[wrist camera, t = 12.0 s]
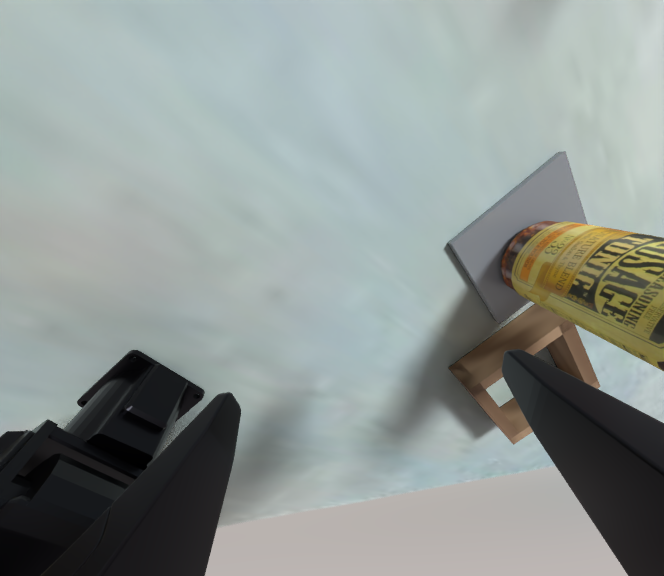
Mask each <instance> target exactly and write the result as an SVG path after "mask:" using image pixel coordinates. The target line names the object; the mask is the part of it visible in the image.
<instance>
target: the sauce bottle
mask: <svg viewBox="0 0 664 576" xmlns="http://www.w3.org/2000/svg"><path fill="white" fill-rule="evenodd" d="M500 267H501V270H502V276H503V280H504V282H505V283H506V285H507V286H509V287H510V288H511V289H513V290H515V291H516V292H517V293H518V294H519V295H521V296H522V297H524V298H526V299H528V300H530V301H532V302H534V303H535V304H537V305H539V306H541V307H543V308H545V309H547V310H549V311H551V312H553V313H555V314H557V315H559V316H560V317H562V318H564V319H566V320H568V321H570V322H572V323H574V324H576V325H578V326H580V327H581V328H583V329H585V330H587V331H589V332H591V333H593V334H595V335H597V336H598V337H600V338H602V339H604V340H606V341H608V342H610V343H612V344H614V345H616V346H617V347H619V348H621V349H623V350H625V351H627V352H629V353H630V354H632V355H634V356H636V357H638V358H640V359H642V360H644V361H646V362H647V363H649V364H651V365H653V366H655V367H657V368H659V369H660V370H662V371H664V238H662V237H656V236H651V235H645V234H638V233H633V232H627V231H622V230H616V229H611V228H605V227H599V226H593V225H587V224H581V223H575V222H554V221H543V222H539V223H536V224H533V225H531V226H529V227H527V228H525V229H523V230H522V231H521V233H519V234H517V235H516V237H515V238H514V239H513V240H512V242H511V243H510V245H509V246H508V248H507V250H506V253H505V254H504V255H503V257H502V260H501V266H500Z"/></svg>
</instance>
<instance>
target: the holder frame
mask: <svg viewBox="0 0 664 576" xmlns="http://www.w3.org/2000/svg"><path fill="white" fill-rule="evenodd" d="M546 346H547V348H548V350H549V352H550V354H551V356H552V358H553V360H554V362H555V364H556V365H557V367H558V369H560V370H562V371H564V372H566V373H568V374H570V375H572V376H574V377H576V378H578V379H579V380H581V381H583V382H585V383H587V384H589V385H591V386H593V387H595V388H597V389H598V388H599V387H600V384H599V382H598V380H597V377H596V375H595V372H594V370H593V368H592V365H591V363H590V360H589V358H588V356H587V353H586V351H585V348H584V346H583V344H582V341H581V339H580V336H579V334H578V332H577V329H576V327H575V324H574V323H572V322H570V321H568V320H566V319H564V318H562V317H560V316H559V315H557V314H555V313H553V312H551V311H549V310H547V309H545V308H543V307H541V306H539V305H537V304H534V305H533V306H532V307H530V308H529V309H527V310H526V311H525V312H523V313H522V314H521V315H519V316H518V317H517V318H515V319H514V320H513V321H511V322H510V323H509V324H507V325H506V326H505V327H503V328H502V329H500V330H499V331H498V332H496V333H495V334H494V335H492V336H491V337H490V338H488V339H487V340H486V341H484V342H483V343H482V344H480V345H479V346H478V347H476V348H475V349H474V350H472V351H471V352H469V353H468V354H467V355H465V356H464V357H463V358H461V359H460V360H459V361H457V362H456V363H455V364H453V365H452V366H451V367H449V369H450V370H451V372H452V373H453V374H454V375H455V376H456V378H457V379H458V380H459V381H460V382H461V384H462V385H463V386H464V387H465V388H466V390H467V391H468V392H469V393H470V394H471V395H472V397H473V398H474V399H475V400H476V401H477V403H478V404H479V405H480V406H481V407H482V409H483V410H484V411H485V412H486V413H487V415H488V416H489V417H490V418H491V419H492V421H493V422H494V423H495V424H496V425H497V426H498V427H499V429H500V430H501V431H502V432H503V433H504V434H505V435H506V437H507V438H508V439H509V440H510V441H511V442H512V443H513V445H514V444H515V443H517V442H518V441H520V440H521V439H523V438H524V437H526V436H527V435H529V434H530V433H532V432H533V430H532V429H531V427H530V426H529V424H528V422H527V420H526V418H525V417H524V415H523V413H522V411H521V409H520V407H519V405H518V403H517V401H516V400H515V398H513V399H512V400H510V401H509V402H507V403H506V404H504V405H503V406H501V407H500V408H499V407H498V405H497V404H496V403H495V402H494V400H493V399H492V398H491V396H490V395H489V394H488V393H487V391H486V390H485V389H487V388H488V387H489V386H491V385H492V384H494V383H495V382H496V381H498V380H499V379H501V378H502V377H503V374H502V363H503V357H504V353H505V351H507V350H514V349H521V350H524V351H526V352H528V353H530V354H531V355H534V354H536V353H537V352H539V351H540V350H541V349H543V348H544V347H546Z"/></svg>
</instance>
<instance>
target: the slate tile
mask: <svg viewBox="0 0 664 576" xmlns="http://www.w3.org/2000/svg"><path fill="white" fill-rule="evenodd" d="M543 221H554V222H575V223H581V224H587V221H586V217H585V214H584V211H583V207H582V204H581V201H580V198H579V194H578V191H577V188H576V184H575V181H574V178H573V175H572V171H571V168H570V165H569V161H568V158H567V155H566V152H565V151H564V152H558V153H557V154H556V155H554V156H553V157H552V158H551V159H550V160H548V161H547V162H546V163H545V164H543V165H542V166H541V167H540V168H539V169H537V170H536V171H535V172H534V173H532V174H531V175H530V176H529V177H528V178H526V179H525V180H524V181H523V182H521V183H520V184H519V185H518V186H517V187H515V188H514V189H513V190H512V191H511V192H509V193H508V194H507V195H506V196H504V197H503V198H502V199H501V200H500V201H498V202H497V203H496V204H495V205H493V206H492V207H491V208H490V209H489V210H487V211H486V212H485V213H484V214H482V215H481V216H480V217H479V218H478V219H476V220H475V221H474V222H473V223H471V224H470V225H469V226H468V227H467V228H465V229H464V230H463V231H462V232H461V233H459V234H458V235H457V236H456V237H454V238H453V239H452V240H451V241H450V242H448V244H449V246H450V247H451V249H452V250H453V252H454V254H455V255H456V257H457V259H458V260H459V262H460V263H461V265H462V267H463V268H464V270H465V272H466V273H467V275H468V276H469V278H470V280H471V281H472V283H473V285H474V286H475V288H476V290H477V291H478V293H479V294H480V296H481V298H482V299H483V301H484V303H485V304H486V306H487V307H488V309H489V311H490V312H491V314H492V316H493V317H494V319H495V320H496V321H497V322H498V323H501V322H503V321H504V320H505V319H507V318H508V317H509V316H511V315H512V314H514V313H515V312H516V311H518V310H519V309H520V308H522V307H523V306H524V305H526V304H527V303H528V302H530V300H528V299H526V298H524V297H522V296H521V295H519V294H518V293H517V292H516V291H515V290H513V289H511V288H510V287H509V286H507V285H506V283H505V282H504V280H503V276H502V270H501V267H500V266H501V260H502V257H503V255H504V254H505V253H506V250H507V248H508V246H509V245H510V243H511V242H512V240H513V239H514V238H515V237H516V235H517V234H519V233H521V231H522V230H523V229H525V228H527V227H529V226H531V225H533V224H536V223H539V222H543ZM587 225H588V224H587Z"/></svg>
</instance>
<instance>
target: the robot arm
mask: <svg viewBox="0 0 664 576" xmlns="http://www.w3.org/2000/svg"><path fill="white" fill-rule="evenodd" d="M132 356H134V357H136V358H133V357H132ZM502 374H503V377H504V379H505V381H506V383H507V384H508V386H509V388H510V390H511V392H512V394H513V396H514V398H515V400H516V401H517V403H518V405H519V407H520V409H521V411H522V413H523V415H524V417H525V418H526V420H527V422H528V424H529V426H530V427H531V429H532V430H533V432H534V434H535V435H536V437H537V438H538V440H539V441H540V443H541V444H542V446H543V447H544V449H545V450H546V452H547V453H548V455H549V456H550V458H551V459H552V461H553V462H554V464H555V465H556V467H557V468H558V470H559V471H560V473H561V474H562V476H563V477H564V479H565V480H566V482H567V483H568V485H569V487H570V488H571V490H572V491H573V492H574V494H575V496H576V497H577V499H578V500H579V502H580V503H581V504H582V506H583V508H584V509H585V511H586V512H587V514H588V515H589V517H590V518H591V520H592V521H593V523H594V524H595V526H596V527H597V529H598V530H599V532H600V533H601V535H602V536H603V538H604V539H605V541H606V542H607V544H608V546H609V547H610V549H611V550H612V552H613V553H614V555H615V556H616V558H617V559H618V561H619V562H620V564H621V565H622V567H623V568H624V570H625V571H626V573H627V574H628V576H664V423H662V422H660V421H658V420H656V419H654V418H653V417H651V416H649V415H647V414H645V413H643V412H641V411H639V410H637V409H635V408H633V407H631V406H629V405H628V404H626V403H624V402H622V401H620V400H618V399H616V398H614V397H612V396H610V395H608V394H606V393H604V392H603V391H601V390H599V389H597V388H595V387H593V386H591V385H589V384H587V383H585V382H583V381H581V380H579V379H578V378H576V377H574V376H572V375H570V374H568V373H566V372H564V371H562V370H560V369H558V368H556V367H554V366H553V365H551V364H549V363H547V362H545V361H543V360H541V359H539V358H537V357H535V356H533V355H531V354H530V353H528V352H526V351H524V350H521V349H514V350H507V351H505V353H504V357H503V363H502ZM204 393H205V392H204V390H203V389H201V388H200V387H198V386H197V385H195V384H193V383H192V382H190V381H188V380H187V379H185V378H183V377H182V376H180V375H178V374H177V373H175V372H173V371H172V370H170V369H168V368H167V367H165V366H163V365H162V364H160V363H158V362H157V361H155V360H153V359H152V358H150V357H148V356H147V355H145V354H144V353H142V352H140V351H138V350H131V351H130V352H128V353H127V354H126V355H125V356H124V357H123V358H122V359H121V360H120V361H119V362H118V363H117V364H116V365H115V366H114V367H112V368H111V369H110V370H109V371H108V372H107V373H106V374H105V375H104V376H103V377H102V378H101V379H100V380H99V381H98V382H97V383H95V384H94V385H93V386H92V387H91V388H90V389H89V390H88V391H87V392H86V393H85V394H84V395H83V396H82V397H81V398H80V399H79V400H78V401H77V404H78V405H79V406H80V407H82V409H81V410H80V411H79V413H78V414H77V415H76V416H75V417H74V418H73V419H72V420H71V421H70V423H69V424H68V425H67V426H66V427H65V428H64V429H61V428H59V427H57V425H58V424H56V423H54V422H52V421H50V420H48V419H47V420H46V421H45V422H43V423H42V424H41V425H39V426H38V427H36V428H35V429H34V430H32V431H28V430H26V431H8V432H6V433H5V434H3V435H2V436H1V437H0V576H204V575H205V572H206V568H207V564H208V560H209V556H210V552H211V548H212V544H213V540H214V536H215V532H216V528H217V524H218V520H219V517H220V513H221V509H222V505H223V501H224V497H225V493H226V489H227V485H228V481H229V477H230V473H231V469H232V465H233V460H234V455H235V449H236V442H237V436H238V429H239V423H240V416H241V408H240V406H239V404H238V402H237V401H236V399H235V397H234V396H233V394H232V393H230V392H228V393H221V394H218V395H217V396H216V397H215V398H214V399H213V400H212V401H211V402H210V403H209V404H208V405H207V406H206V407H205V408H204V409H203V410H202V411H201V413H200V414H199V415H198V416H197V417H196V418H195V419H194V420H193V421H192V422H191V423H190V424H189V425H188V426H187V427H186V428H185V429H184V430H183V431H182V432H181V433H180V434H179V435H178V436H177V437H176V438H175V439H174V440H173V441H172V443H171V444H170V445H169V446H168V447H167V448H166V449H165V450H164V451H163V452H162V453H161V451H162V449H163V447H164V444H165V442H166V440H167V438H168V436H169V434H170V431H171V429H172V427H173V425H174V423H175V422H176V421H177V420H178V419H179V418H180V417H182V416H183V415H184V414H185V413H186V412H187V411H189V410H190V409H191V408H192V407H193V406H195V405H196V404H197V403H198V402H199V401H200V400H202V398H203V396H204ZM196 394H199V395H196ZM160 453H161V454H160Z"/></svg>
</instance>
